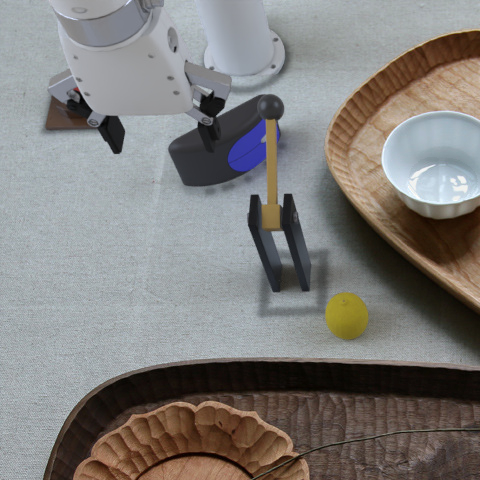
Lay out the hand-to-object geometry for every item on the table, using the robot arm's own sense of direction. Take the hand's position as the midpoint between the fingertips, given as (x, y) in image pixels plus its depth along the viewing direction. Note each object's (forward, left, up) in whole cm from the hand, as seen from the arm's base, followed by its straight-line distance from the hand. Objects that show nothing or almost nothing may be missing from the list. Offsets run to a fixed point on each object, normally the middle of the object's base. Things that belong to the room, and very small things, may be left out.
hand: (166, 142), depth 83 cm
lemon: (+6, +16, -30) cm, 35 cm away
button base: (-34, -27, -30) cm, 53 cm away
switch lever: (-8, +8, -14) cm, 18 cm away
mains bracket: (-1, +8, -30) cm, 31 cm away
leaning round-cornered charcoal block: (-22, -2, -30) cm, 37 cm away
